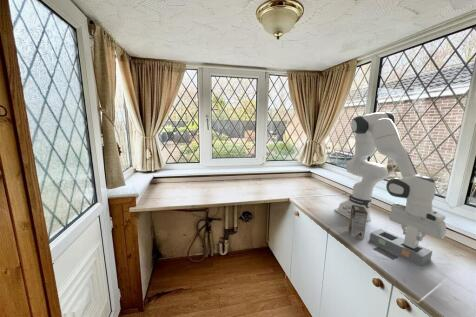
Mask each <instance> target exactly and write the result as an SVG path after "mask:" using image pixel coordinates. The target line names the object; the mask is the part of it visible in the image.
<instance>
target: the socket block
mask: <svg viewBox="0 0 476 317" xmlns="http://www.w3.org/2000/svg"><path fill="white" fill-rule="evenodd" d="M369 234H370V235H369V241H371V242H372V243H374V244H376V245H378V246H379V247H381V248H383V249H385V250H387V251H390V252H391V253H393V254H395V255H398V256H400V257H402V258H404V259H405V260H408V261H410V262H412V263H414V264H417V265H418V266H421V267H422V266H423V265H424V264H426V263H428V262H429V261H431V259H432V255H433V250H432V249H429V248H426V247H425V246H421V245H419V244H418V247H416V248H414V249H413V248H411V247H409V246H407V245H405V244H404V240H405V238H403V237H401V236H398V235H396V234H394V233H391V232H389V231H387V230H385V229H383V228H379V229H377V230H374V231H371V232H370V233H369Z"/></svg>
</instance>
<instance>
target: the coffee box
mask: <svg viewBox="0 0 476 317" xmlns="http://www.w3.org/2000/svg"><path fill="white" fill-rule="evenodd" d="M367 214H368V213H367V211H366V210H365V208H364V207H361V206H356V205H352V208H351V215H350V219H349V222H348V233H349V235H350V237H351V238H355V239H359V240H364V238H365V231H366V226H367V222H368V221H367Z"/></svg>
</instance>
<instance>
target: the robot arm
mask: <svg viewBox="0 0 476 317" xmlns="http://www.w3.org/2000/svg"><path fill="white" fill-rule="evenodd" d="M395 124H396V117H395V115H394V113H392V112H391V111H382V112H373V113H370V114H369V113H368V114H364V115H358V116H355V117H354V118H352V121H351V124H350V125H351V126H350V127H351V130H352V132H353V133H354V134H355V136H354V137H355V138H354V139H355V140H354V141H355V142H354V143H355V146H354V147H355V148H354V149H355V150H354V154H353V156H352V157H351V159H350V160H348V161H347V163H346V165H345V168H346V170H345V171H346V172H347V173H349V174H351V175H352V176H357V177H361V181H358V182H356V183H354V184H353V186H352V194H349V195H348V199H346V200H343V201H342V202H340V203H339V204H338V206H336V207H335V208H334V211H335V212H337V213H338V214H340V215H342V216H344V217H346V218H347V219H349V220H350V215H351V208H352V205H356V206H361V207H364V208H365V210H366V211H367V213H368V214H367V221H366V222H369V221H371V220H372V218H371V207H372V200H373V199H372V196H373V191H374V188H375V186H376V185H377V184H378V183H380V182H382V181H384V180H385V179H386V178H387V176H388V174H389V172H388V171H389V170H388V167H387V166H385V165H383V164H381V163H377V162H373V161H368V159H369V157H371V156H373V155H375V153H376V151H377V152H378V153H379V154H381V155H382V156H385V157H386V158H389V159H391V160H393V161H394V163H395V164H396V165H397V167H398V170H399V172H400V174H401V177H394V178H391V179H389V180H388V181H387V182H386V184H385V185H386V186H385V187H386V188H385V189H386V191H387V192H388V194H389V195H390V196H392V197H395V198H401V199H406V202H405V203H406V205H403V204H400V203H397V202H396V203H392V204H391V207H390V209H391V211H390V213H389V215H388V216H389V217H388V219H389V221H392V222H394V223H397V224H399V225H401V230H402V235H404V236H405V234H406V229H407V225H410V226H412V227H415V228H417V229H418V231H419V232H421V234H420V236H417V240H419V242H422V241H423V239H424V238H425V237H426V236H427V235H428V236H429V237H433V238H435V239H437V240H441V239H444V238H445V237H446V233H447V224H446V222H445V220H446V215H444V214H442V213H440V212H439V211H437V210H435V209H433V201H434V199H435V196H436V189H437V184H436V180H435V179H433V178H432V177H431V176H428V175H423V174H418V171H417V169H416V168H415V165H414V163H413V161H412V158H411V156H410V154H409V153H408V151H407V150H406V148H405V147H404V144H403V143H402V140H401V138H400V134H399V132H398V130H397V127H396V125H395Z"/></svg>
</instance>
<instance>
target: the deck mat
mask: <svg viewBox="0 0 476 317" xmlns="http://www.w3.org/2000/svg"><path fill="white" fill-rule="evenodd" d="M372 250H374V251H375V252H378V253H379V254H381V255H383V256H385V257H387V258H389V259H391V260H392V261H394V260H396V259H398V258H399V255H398V256H397V254H395V253H393V252H391V251H390V252H389V250H387V249H385V248H383V247H381V246H377V247H374V248H372Z"/></svg>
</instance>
